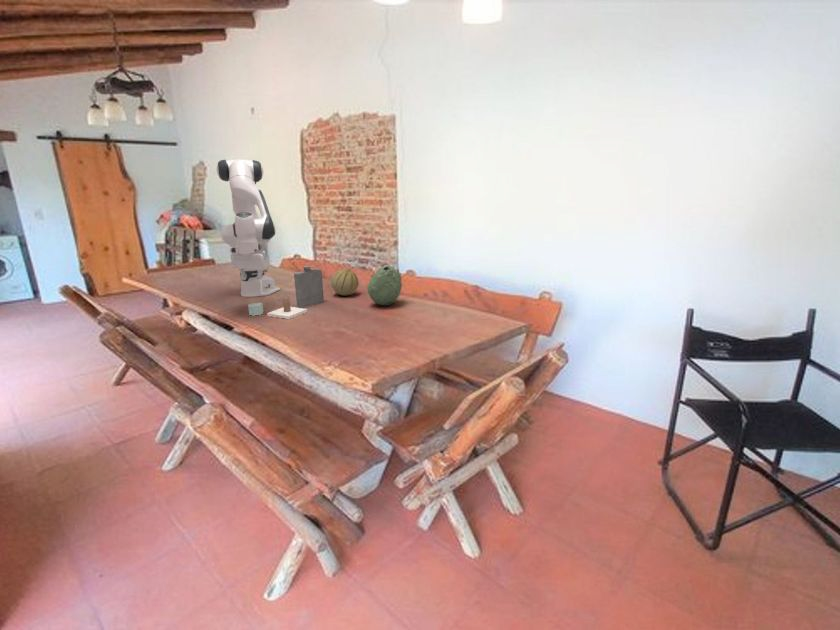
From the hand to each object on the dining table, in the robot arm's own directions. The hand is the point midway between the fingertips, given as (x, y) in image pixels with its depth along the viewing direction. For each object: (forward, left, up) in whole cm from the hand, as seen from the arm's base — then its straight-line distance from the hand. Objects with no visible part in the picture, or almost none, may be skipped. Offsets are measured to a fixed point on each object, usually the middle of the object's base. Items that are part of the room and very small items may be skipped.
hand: (252, 278), depth 204 cm
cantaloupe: (-47, +19, -18) cm, 54 cm away
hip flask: (-24, +13, -18) cm, 33 cm away
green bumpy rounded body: (-39, +49, -18) cm, 65 cm away
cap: (0, 0, -18) cm, 18 cm away
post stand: (-6, +14, -18) cm, 23 cm away
